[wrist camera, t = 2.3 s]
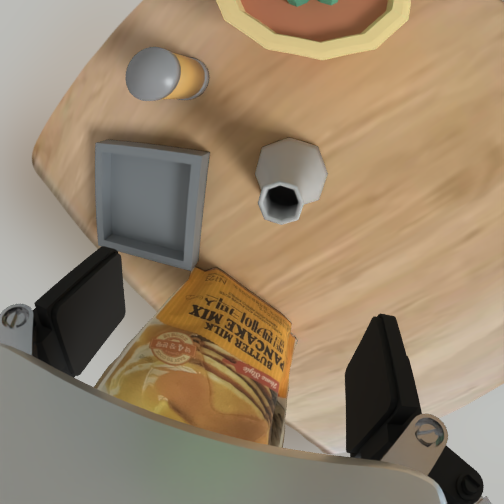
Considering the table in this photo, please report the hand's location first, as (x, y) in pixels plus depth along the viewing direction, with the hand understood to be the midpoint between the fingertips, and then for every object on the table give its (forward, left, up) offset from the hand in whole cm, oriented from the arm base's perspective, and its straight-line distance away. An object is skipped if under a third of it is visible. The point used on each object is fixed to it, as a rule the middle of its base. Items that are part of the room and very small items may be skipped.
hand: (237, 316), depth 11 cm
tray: (+6, -15, -22) cm, 27 cm away
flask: (0, 0, -22) cm, 22 cm away
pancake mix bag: (+18, -2, -22) cm, 28 cm away
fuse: (-8, -12, -22) cm, 26 cm away
